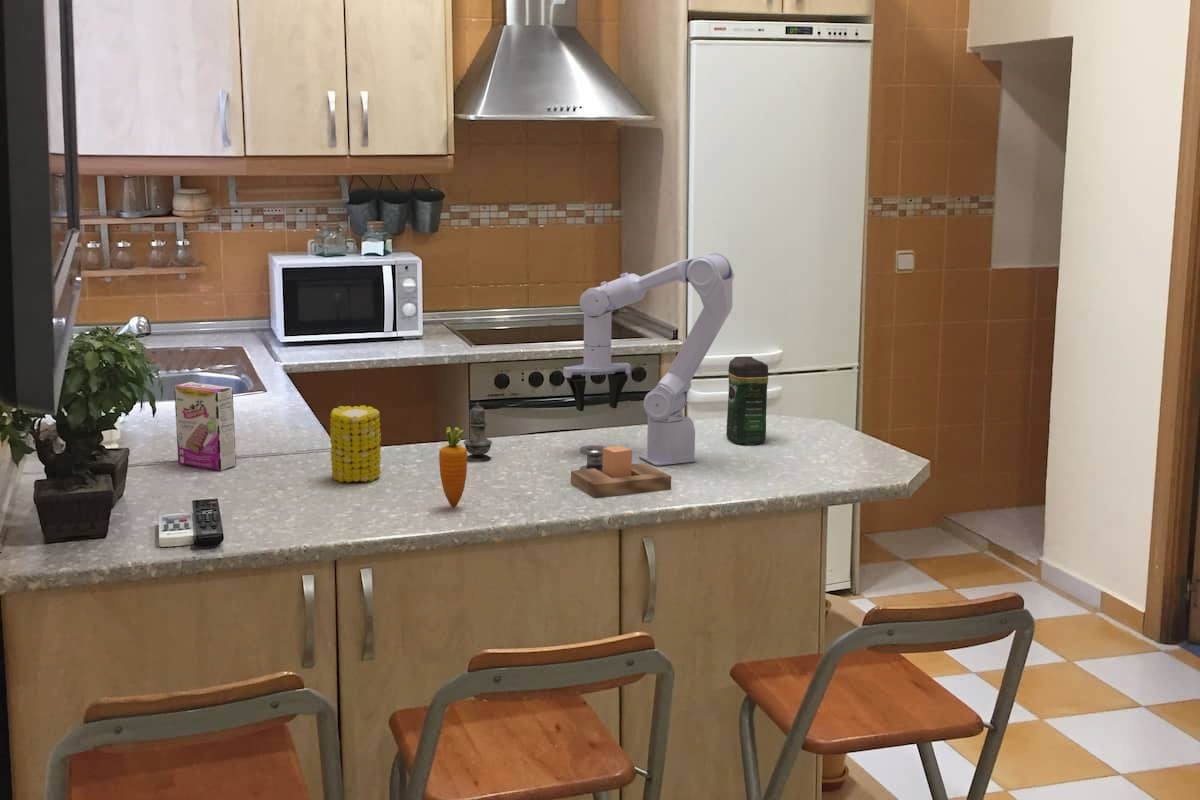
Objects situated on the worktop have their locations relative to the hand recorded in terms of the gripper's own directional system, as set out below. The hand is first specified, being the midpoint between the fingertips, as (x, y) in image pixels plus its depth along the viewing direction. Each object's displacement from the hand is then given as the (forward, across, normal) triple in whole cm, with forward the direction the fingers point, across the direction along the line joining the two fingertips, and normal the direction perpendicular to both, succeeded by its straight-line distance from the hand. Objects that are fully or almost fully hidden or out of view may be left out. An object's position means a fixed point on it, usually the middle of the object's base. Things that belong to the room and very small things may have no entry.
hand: (596, 408), depth 275 cm
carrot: (+10, +41, +27) cm, 50 cm away
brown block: (+9, +7, +24) cm, 27 cm away
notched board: (+9, +7, +26) cm, 29 cm away
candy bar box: (+10, +77, -20) cm, 80 cm away
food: (+10, +52, +1) cm, 53 cm away
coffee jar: (+10, -35, +3) cm, 37 cm away
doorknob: (+9, +7, +14) cm, 18 cm away
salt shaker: (+10, +25, -5) cm, 27 cm away
